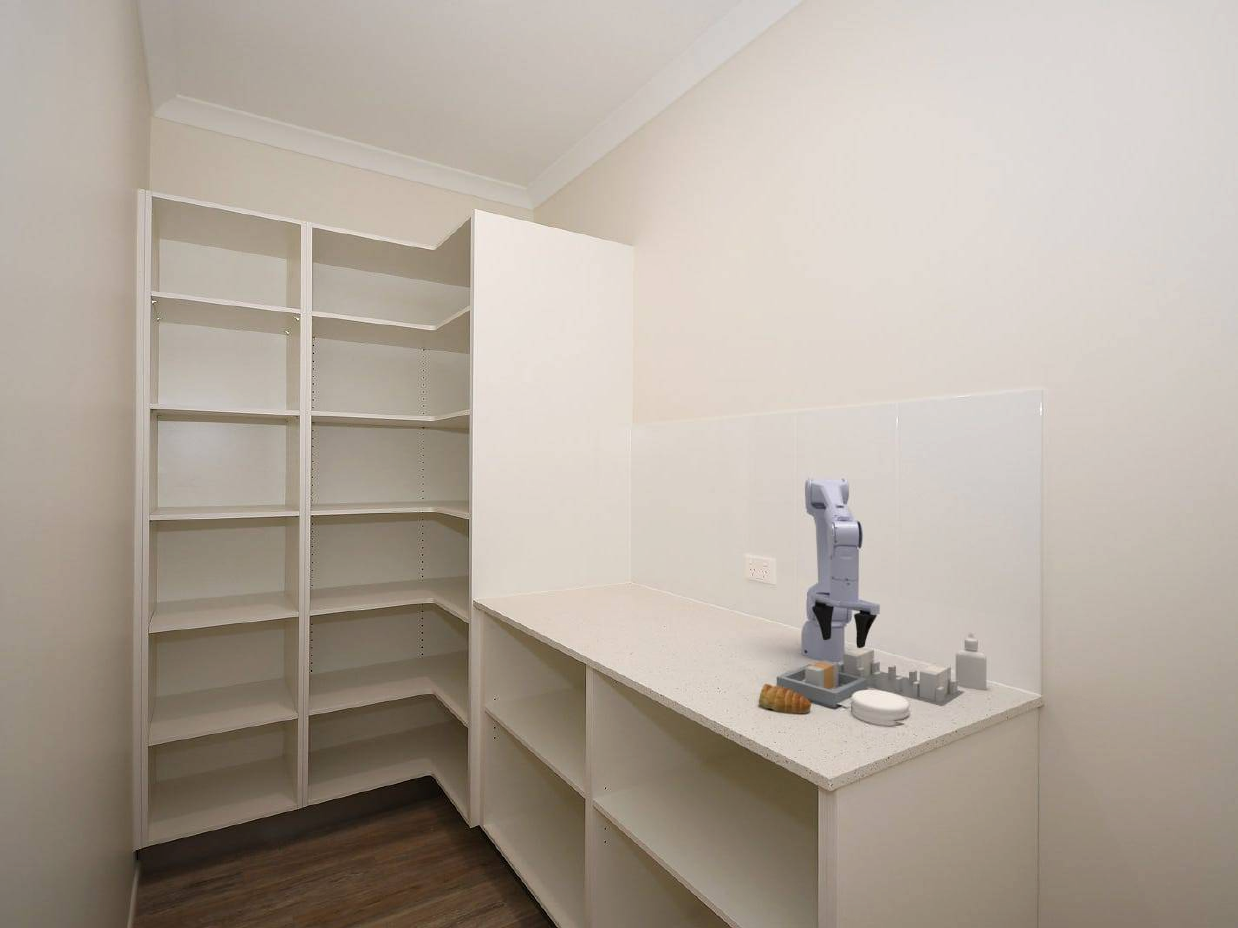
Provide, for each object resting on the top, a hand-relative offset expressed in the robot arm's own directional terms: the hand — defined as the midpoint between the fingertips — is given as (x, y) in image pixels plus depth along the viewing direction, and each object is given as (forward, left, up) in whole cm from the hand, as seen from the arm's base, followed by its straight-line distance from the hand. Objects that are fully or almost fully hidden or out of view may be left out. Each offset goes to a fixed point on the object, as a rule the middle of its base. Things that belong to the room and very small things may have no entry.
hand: (843, 642), depth 133 cm
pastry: (-3, -19, -10) cm, 22 cm away
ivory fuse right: (+16, +8, -8) cm, 19 cm away
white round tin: (+12, -10, -10) cm, 18 cm away
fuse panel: (+8, +8, -9) cm, 14 cm away
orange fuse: (-1, -6, -9) cm, 11 cm away
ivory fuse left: (0, +8, -8) cm, 11 cm away
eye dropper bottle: (+19, +19, -10) cm, 28 cm away
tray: (-1, -6, -9) cm, 11 cm away
